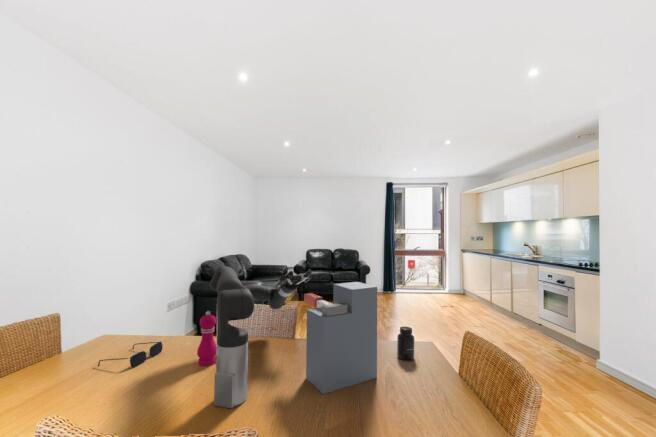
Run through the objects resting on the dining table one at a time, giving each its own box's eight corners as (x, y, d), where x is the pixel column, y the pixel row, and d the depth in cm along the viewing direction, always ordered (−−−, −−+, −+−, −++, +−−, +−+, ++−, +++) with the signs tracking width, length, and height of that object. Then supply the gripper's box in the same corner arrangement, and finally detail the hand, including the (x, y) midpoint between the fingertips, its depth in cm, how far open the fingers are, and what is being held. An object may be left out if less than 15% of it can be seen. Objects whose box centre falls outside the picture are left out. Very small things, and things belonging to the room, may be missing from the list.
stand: (306, 378, 107) (307, 286, 108) (356, 364, 119) (357, 281, 120) (323, 394, 97) (324, 292, 98) (376, 377, 108) (377, 286, 109)
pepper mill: (220, 359, 122) (221, 308, 123) (211, 367, 115) (212, 313, 115) (202, 358, 123) (204, 308, 123) (193, 366, 115) (194, 313, 116)
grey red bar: (298, 302, 118) (298, 294, 118) (316, 300, 122) (316, 292, 122) (326, 316, 99) (326, 306, 99) (347, 313, 103) (347, 304, 103)
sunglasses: (131, 370, 113) (130, 356, 113) (97, 372, 115) (96, 359, 115) (163, 352, 130) (162, 340, 130) (133, 354, 132) (132, 342, 132)
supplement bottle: (410, 362, 121) (410, 332, 121) (394, 358, 125) (394, 328, 125) (416, 357, 126) (416, 327, 127) (401, 352, 130) (401, 324, 131)
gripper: (271, 279, 140) (284, 264, 129) (299, 277, 148) (313, 263, 136) (274, 295, 137) (287, 281, 125) (303, 292, 144) (317, 279, 133)
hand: (301, 272), depth 131 cm, fingers open, 8 cm apart
